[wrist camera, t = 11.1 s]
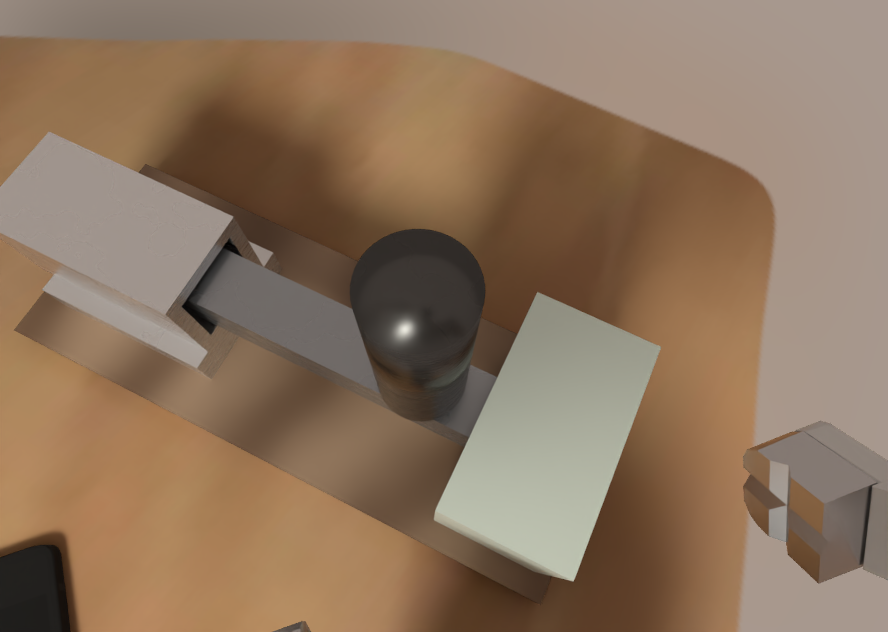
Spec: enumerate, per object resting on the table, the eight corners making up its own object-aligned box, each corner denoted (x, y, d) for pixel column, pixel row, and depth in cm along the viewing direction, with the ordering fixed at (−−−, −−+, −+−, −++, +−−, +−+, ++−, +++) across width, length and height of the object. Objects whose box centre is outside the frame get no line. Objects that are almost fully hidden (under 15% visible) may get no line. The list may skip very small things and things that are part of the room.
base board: (27, 337, 28) (13, 330, 28) (154, 175, 32) (145, 163, 31) (536, 602, 25) (540, 604, 24) (619, 389, 28) (626, 383, 27)
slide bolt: (187, 322, 25) (32, 178, 15) (230, 259, 26) (111, 87, 16) (522, 487, 23) (591, 444, 13) (554, 412, 24) (639, 319, 14)
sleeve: (54, 299, 28) (-43, 235, 22) (132, 199, 30) (62, 116, 24) (211, 379, 27) (151, 333, 21) (282, 269, 29) (245, 200, 23)
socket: (433, 520, 25) (435, 510, 18) (511, 353, 28) (537, 291, 21) (534, 571, 24) (573, 581, 18) (603, 396, 27) (661, 347, 20)
